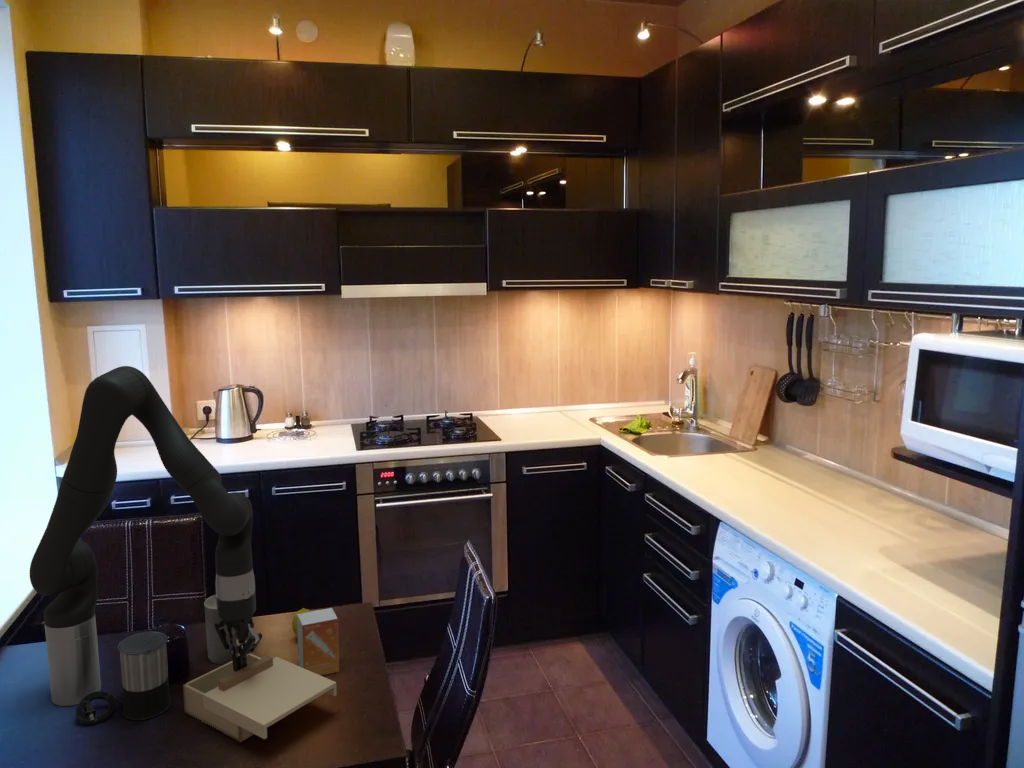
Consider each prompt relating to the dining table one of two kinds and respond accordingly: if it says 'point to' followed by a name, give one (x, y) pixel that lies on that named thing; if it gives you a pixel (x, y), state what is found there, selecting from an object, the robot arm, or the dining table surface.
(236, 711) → the lid
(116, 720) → the dining table surface
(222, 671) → the tray
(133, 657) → the milk frother
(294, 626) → the lemon
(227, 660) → the pillar candle
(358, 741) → the dining table surface
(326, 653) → the small box
